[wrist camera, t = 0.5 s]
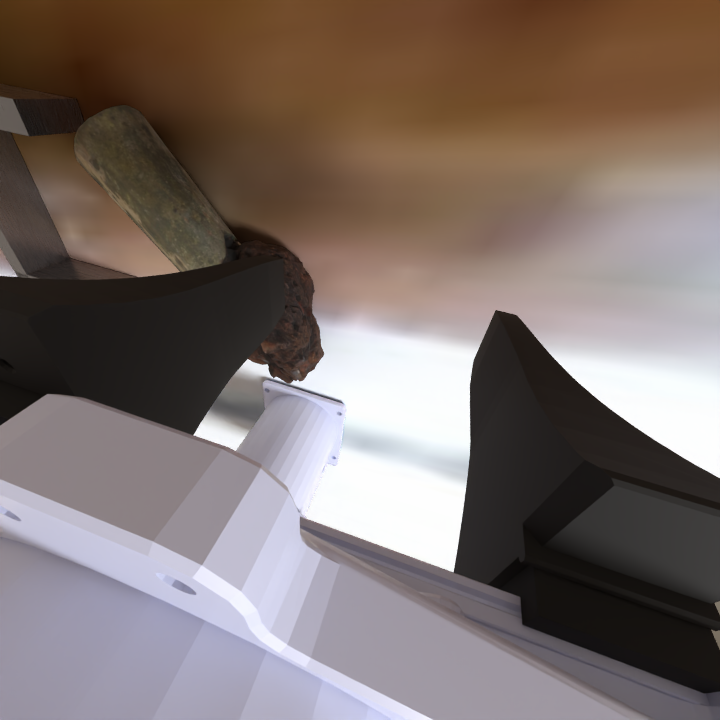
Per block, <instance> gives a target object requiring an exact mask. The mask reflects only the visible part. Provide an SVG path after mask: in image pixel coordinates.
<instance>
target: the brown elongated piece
mask: <svg viewBox="0 0 720 720" xmlns="http://www.w3.org/2000/svg"><path fill="white" fill-rule="evenodd" d="M74 151H75V156H76V159H77V161H78V162H79V163H80V165H81V166H82V167H83V168H84V169H85V170H86V171H87V172H88V173H89V174H90V175H91V177H92V178H93V179H94V180H95V181H96V182H97V183H98V184H99V185H100V186H101V187H102V188H103V189H104V190H105V191H106V192H107V193H108V194H109V196H110V197H111V198H112V199H113V200H114V201H115V202H116V203H117V204H118V205H119V206H120V207H121V208H122V210H123V211H124V212H125V213H126V214H127V215H128V216H129V217H130V218H131V219H132V220H133V221H134V222H135V223H136V225H137V226H138V227H139V228H140V229H141V230H142V231H143V232H144V233H145V234H146V235H147V236H148V237H149V238H150V240H151V241H152V242H153V243H154V244H155V245H156V246H157V247H158V248H159V249H160V250H161V252H162V253H163V254H164V255H165V256H166V257H167V258H168V259H169V260H170V261H171V262H172V263H173V264H174V265H175V266H176V268H177V269H178V270H179V271H180V272H183V271H188V270H193V269H199V268H204V267H209V266H213V265H218V264H222V263H226V262H231V261H235V260H239V259H244V258H249V257H254V256H261V255H269V256H273V257H277V258H281V259H283V269H284V293H285V311H284V313H283V315H282V316H281V318H280V320H279V321H278V323H277V324H276V326H275V328H274V329H273V331H272V332H271V333H270V334H269V335H268V336H267V338H266V339H265V340H264V341H263V342H262V343H261V344H260V346H259V347H258V348H257V349H256V350H255V351H254V352H253V353H252V354H251V356H250V357H249V358H248V359H249V360H251V361H252V362H255V363H258V364H262V365H264V364H268V366H269V372H270V374H271V376H272V377H273V378H275V377H278V378H280V379H282V380H283V381H285V382H286V383H291V382H292V381H293V380H295V381H297V380H299V381H303V380H304V379H305V377H306V376H307V374H308V373H309V372H310V371H312V370H314V369H315V366H316V364H317V363H318V362H319V361H320V359H321V358H322V357H323V356H324V352H323V349H322V347H321V339H320V330H319V326H318V324H317V321H316V319H315V317H314V316H313V314H312V300H313V293H314V292H315V291H314V285H313V280H312V279H311V277H310V275H309V274H308V273H307V272H306V271H305V269H304V268H303V264H302V262H300V260H299V258H297V257H295V256H294V255H293V254H292V253H291V252H290V251H288V250H287V249H286V248H284V247H281V246H277V245H271V244H265V243H263V242H260V241H258V240H253V241H247V242H244V243H242V244H241V243H239V241H238V240H237V239H236V237H235V236H234V235H233V233H232V232H231V231H230V229H229V228H228V227H227V226H226V224H225V223H224V222H223V220H222V219H221V218H220V216H219V215H218V214H217V212H216V211H215V210H214V209H213V207H212V206H211V205H210V203H209V202H208V201H207V199H206V198H205V197H204V195H203V194H202V193H201V191H200V190H199V189H198V187H197V186H196V185H195V183H194V182H193V180H192V179H191V178H190V176H189V175H188V174H187V172H186V171H185V170H184V169H183V168H182V166H181V165H180V164H179V163H178V161H177V160H176V159H175V158H174V156H173V155H172V154H171V152H170V151H169V150H168V148H167V147H166V146H165V144H164V143H163V142H162V140H161V139H160V137H159V136H158V135H157V133H156V132H155V131H154V129H153V128H152V127H151V125H150V124H149V123H148V121H147V120H146V119H145V117H144V116H143V115H142V113H141V112H139V111H138V110H136V109H135V108H132V107H130V106H126V105H120V106H114V107H110V108H107V109H105V110H103V111H101V112H99V113H97V114H95V115H94V116H92V117H90V118H88V119H87V120H86V121H85V122H84V123H83V124H82V125H81V126H80V127H79V128H78V130H77V132H76V134H75V138H74Z"/></svg>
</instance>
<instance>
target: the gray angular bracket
mask: <svg viewBox="0 0 720 720" xmlns="http://www.w3.org/2000/svg"><path fill="white" fill-rule="evenodd" d="M83 123H84V120H83V117H82V114H81V111H80V108H79V105H78V102H77V99H75V98H70V97H65V96H60V95H55V94H50V93H45V92H40V91H35V90H30V89H25V88H20V87H15V86H10V85H5V84H0V248H1V250H2V251H3V253H4V255H5V256H6V258H7V260H8V261H9V263H10V265H11V266H12V268H13V270H14V271H15V273H16V275H17V276H18V277H22V278H38V279H67V280H99V279H119V278H137V277H134V276H131V275H127V274H124V273H120V272H117V271H113V270H110V269H106V268H103V267H99V266H96V265H92V264H89V263H85V262H82V261H78V260H75V259H71V258H69V256H68V253H67V251H66V249H65V247H64V245H63V243H62V241H61V239H60V236H59V234H58V232H57V230H56V228H55V226H54V224H53V222H52V220H51V217H50V215H49V213H48V211H47V209H46V207H45V205H44V203H43V200H42V198H41V196H40V194H39V192H38V190H37V188H36V186H35V184H34V181H33V179H32V177H31V175H30V173H29V171H28V169H27V167H26V164H25V162H24V160H23V158H22V156H21V154H20V152H19V150H18V148H17V145H16V143H15V141H14V139H13V137H12V135H11V133H10V132H13V133H17V134H21V135H26V136H38V135H50V134H61V133H73V132H77V130H78V128H79V127H80V126H81V125H82V124H83Z"/></svg>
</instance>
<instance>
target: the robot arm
mask: <svg viewBox="0 0 720 720" xmlns="http://www.w3.org/2000/svg"><path fill="white" fill-rule="evenodd" d="M284 311H285V293H284V269H283V259H281V258H277V257H273V256H269V255H261V256H254V257H249V258H244V259H239V260H235V261H231V262H226V263H222V264H218V265H213V266H209V267H204V268H199V269H193V270H188V271H183V272H178V273H171V274H165V275H156V276H148V277H137V278H119V279H99V280H67V279H38V278H22V277H6V276H0V720H720V650H719V647H718V645H717V643H716V640H715V638H714V636H713V633H712V631H711V630H714V631H718V630H720V615H719V613H718V610H717V608H716V606H715V604H714V603H715V602H718V601H720V478H718V477H716V476H714V475H713V474H711V473H709V472H707V471H705V470H703V469H702V468H700V467H698V466H696V465H694V464H693V463H691V462H689V461H687V460H686V459H684V458H682V457H681V456H679V455H678V454H676V453H674V452H673V451H671V450H669V449H668V448H666V447H665V446H663V445H661V444H660V443H658V442H657V441H655V440H653V439H652V438H650V437H649V436H647V435H646V434H644V433H643V432H641V431H640V430H638V429H637V428H635V427H634V426H632V425H631V424H630V423H628V422H627V421H626V420H624V419H623V418H621V417H620V416H619V415H617V414H616V413H615V412H613V411H612V410H610V409H609V408H608V407H607V406H605V405H604V404H603V403H601V402H600V401H599V400H598V399H597V398H595V397H594V396H593V395H592V394H591V393H589V392H588V391H587V390H586V389H585V388H584V387H582V386H581V385H580V384H579V383H578V382H577V381H576V380H575V379H574V378H573V377H572V376H570V375H569V374H568V372H567V371H566V370H565V369H564V368H563V367H562V366H561V365H560V364H559V363H558V362H557V361H556V360H555V359H554V358H553V357H552V356H551V355H550V354H549V353H548V351H547V350H546V349H545V348H544V347H543V346H542V344H541V343H540V342H539V341H538V340H537V339H536V337H535V336H534V335H533V334H532V332H531V331H530V330H529V329H528V328H527V326H526V325H525V324H524V323H523V322H522V321H521V319H520V318H519V317H518V316H517V315H514V314H510V313H506V312H501V311H497V310H496V311H495V313H494V315H493V318H492V320H491V322H490V325H489V327H488V329H487V331H486V334H485V336H484V338H483V340H482V343H481V345H480V347H479V350H478V352H477V354H476V356H475V359H474V362H473V368H472V375H471V382H470V437H471V443H470V460H469V469H468V478H467V486H466V494H465V502H464V510H463V517H462V523H461V530H460V537H459V544H458V550H457V556H456V562H455V568H454V573H453V572H450V571H448V570H445V569H442V568H439V567H437V566H434V565H431V564H428V563H426V562H423V561H420V560H417V559H415V558H412V557H409V556H407V555H404V554H401V553H398V552H396V551H393V550H390V549H387V548H385V547H382V546H379V545H377V544H374V543H371V542H368V541H366V540H363V539H360V538H357V537H355V536H352V535H349V534H346V533H344V532H341V531H338V530H336V529H333V528H330V527H327V526H325V525H322V524H319V523H316V522H314V521H311V520H308V519H306V516H304V515H305V514H306V512H307V510H308V508H309V505H310V503H311V501H312V498H313V496H314V494H315V491H316V489H317V487H318V484H319V482H320V480H321V478H322V475H323V473H324V471H325V468H326V466H327V464H330V465H333V466H336V465H337V464H338V462H339V455H340V448H341V441H342V434H343V428H344V421H345V414H346V406H345V405H344V404H342V403H339V402H336V401H333V400H330V399H326V398H323V397H320V396H317V395H314V394H311V393H307V392H304V391H301V390H298V389H295V388H292V387H288V386H285V385H282V384H279V383H276V382H273V381H269V380H265V381H264V382H263V383H262V387H263V397H264V407H265V411H264V412H263V413H262V415H261V416H260V418H259V419H258V420H257V422H256V423H255V425H254V426H253V428H252V429H251V430H250V432H249V433H248V435H247V436H246V437H245V439H244V440H243V442H242V443H241V444H240V446H239V447H238V449H237V450H236V451H234V450H232V449H230V448H228V447H225V446H222V445H220V444H217V443H214V442H211V441H208V440H205V439H202V438H199V437H196V436H193V435H194V433H195V431H196V430H197V428H198V426H199V425H200V423H201V421H202V420H203V418H204V417H205V415H206V414H207V412H208V411H209V409H210V407H211V406H212V404H213V403H214V401H215V400H216V398H217V397H218V396H219V394H220V393H221V391H222V390H223V388H224V387H225V385H226V384H227V383H228V381H229V380H230V379H231V377H232V376H233V375H234V374H235V372H236V371H237V370H238V369H239V368H240V367H241V366H242V364H243V363H244V362H245V361H246V360H247V359H248V358H249V357H250V356H251V354H252V353H253V352H254V351H255V350H256V349H257V348H258V347H259V346H260V344H261V343H262V342H263V341H264V340H265V339H266V338H267V336H268V335H269V334H270V333H271V332H272V331H273V329H274V328H275V326H276V324H277V323H278V321H279V320H280V318H281V316H282V315H283V313H284Z"/></svg>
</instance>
